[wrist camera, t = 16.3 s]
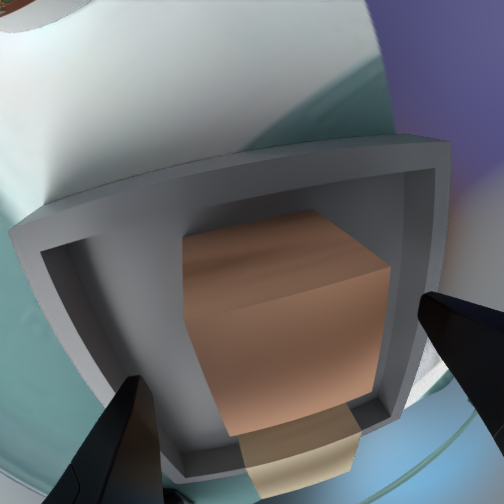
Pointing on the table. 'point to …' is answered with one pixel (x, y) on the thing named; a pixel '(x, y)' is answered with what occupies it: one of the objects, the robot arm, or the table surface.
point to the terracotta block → (283, 317)
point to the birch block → (301, 451)
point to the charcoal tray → (217, 217)
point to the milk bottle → (34, 13)
